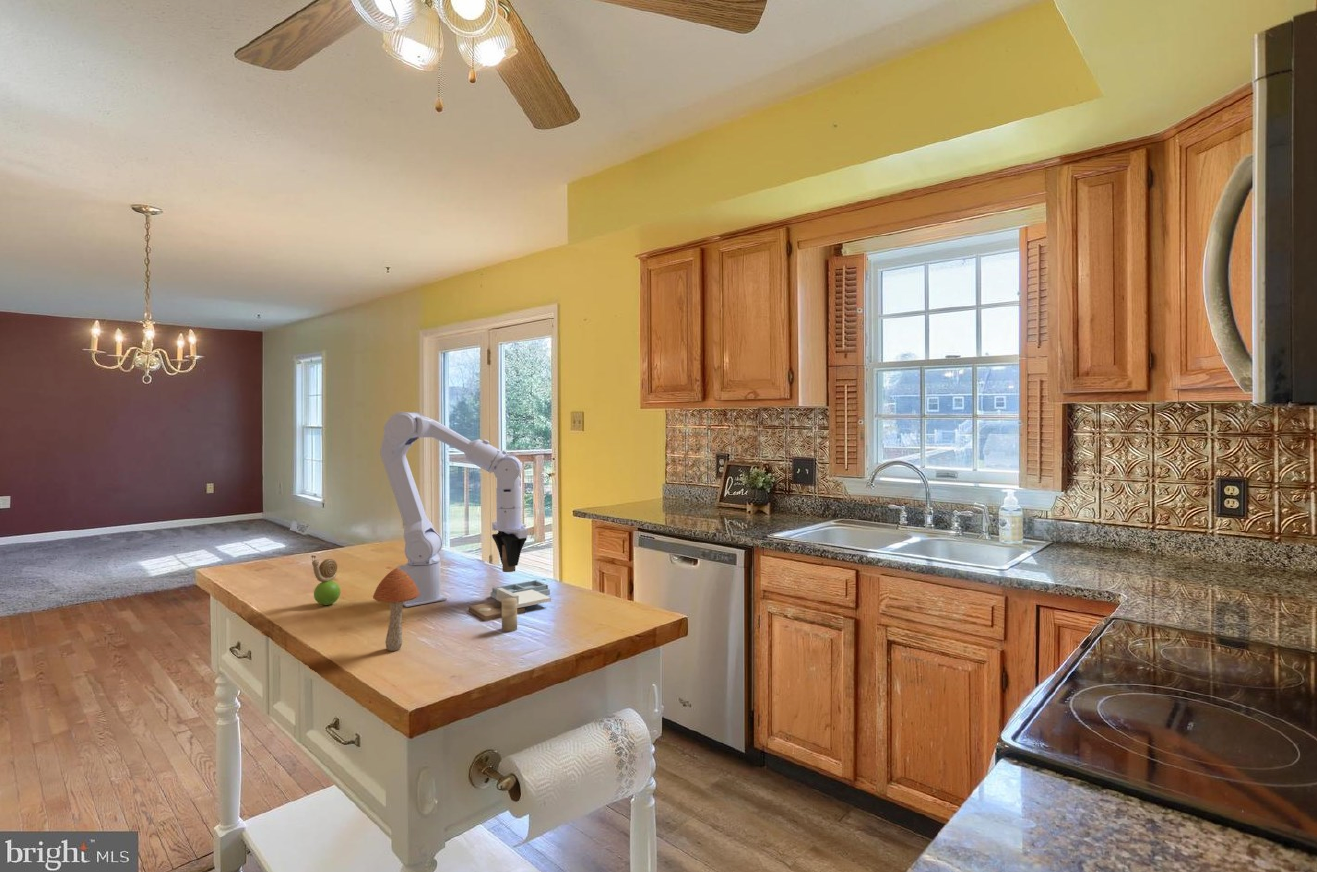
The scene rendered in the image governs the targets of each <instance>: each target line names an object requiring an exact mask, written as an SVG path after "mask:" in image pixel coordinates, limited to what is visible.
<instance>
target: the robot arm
mask: <svg viewBox="0 0 1317 872" xmlns="http://www.w3.org/2000/svg"><path fill="white" fill-rule="evenodd" d="M420 438H431V439H432V438H433V439H435V440H437V441H439V442H441V443H443V444H446V445H447V446H450V447H452V448H453V449H455V450H458V451H460V452H462V453H464V456H465V459H466V461H467V462H469V463H471V464H473V465H475V466H477V467H478V468H481V469H483V470H485V471H486V472H488V473H490V474H492V473H493V474H494V476H495V478H496V485H497V486H496V488H495V489H496V495H495V496H496V521H493V522H491V526H492V527H491V528H492V531H498V532H497V533H493V534H491V537H492V540H493V541H494V543H495V545H496V547H497V551H498V554H499V558H500V562H501V564H502V545H504V546H505V549H506V555H507V563H508V566H509V567H511V566H515V567H516V566H518V564H519V560H520V556H521V553H522V549H523V546H524V545H525V543H526V541H527V539H528V528H527V524H525V523H522V487H521V484H522V479H521V474H522V471H523V464H522V462H521V460H520V459H519V458H518V457H516V456H515V454H508V451H506V450H505V449H504V450H500V449H499V448H497V447H495V446H494V445H492V444H490V441H489V440H487V439H483V440H482V439H480V438H479V439H475V440H470V439H468V438H467V437H466V436H463V435H462V434H460V433H458V432H457V431H455V430H453V429H452V428H450V427H448V426H446V425H444V424H443V423H441V422H439V421H437V420H435V419H433V418H431V417H428V416H425V415H424V416H423V415H422V414H421V413H419V412H416V411H415V412H414V411H410V412H406V411H398V412H395V413H394V414H392V415H391V416H390V417H389V419H387V421H386V423H385V424H384V425H383V437H382V442H381V445H380V450H379V453H380V454H379V455H380V458H381V461H382V463H383V467H384V470H385V473H386V476H387V479H388V482H389V484H390V488H391V490H392V493H393V497H394V499H395V502H396V504H397V505H396V506H397V508H398V512H399V514H400V516H401V518H402V522H403V524H404V529H403V539H404V542H405V545H404V555H405V558H406V559H407V563H405V564H402V565H401V564H400V565H399V566H398V567H397V568H398V569H400V570H402V571H404V572H405V573H407V574H408V575H409V576H410V577H411V579H412V580H413V581H414V583H415V584H416V586H417V589H418V591H419V596H418V597H417V598H415V599H413V600H409V601H404V602H403V607H405V608H409V607H414V606H420V605H425V604H432V603H435V602H442V601H446V600H448V597H447V596H445V595H443V594H442V587H441V586H442V582H441V581H442V580H441V579H442V577H441V571H442V570H441V568H442V567H441V566H442V565H441V564H442V563H441V557H440V555H439V552H441V550H442V548H443V539H442V535H441V534H440V533H438V532H437V530H436V529H435V528H434V524H433V523H432V521H431V520H429V519H428V517H427V514H426V511H425V507H424V505H423V502H422V500H421V496H420V493H419V491H418V490H419V489H418V487H417V485H416V482H415V479H414V477H413V473H412V470H411V466H410V464H409V461H408V458H407V453H408V451H409V450H410V449H411V447H412V446H413V444H414V443H415V442H417V440H418V439H420ZM507 454H508V455H507ZM526 528H527V529H526Z"/></svg>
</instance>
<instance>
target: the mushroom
mask: <svg viewBox="0 0 1317 872" xmlns="http://www.w3.org/2000/svg"><path fill="white" fill-rule="evenodd" d="M418 596H419V591H418V589H417V586H416V584H415V583H414V581H413V580H412V579H411V577H410V576H409V575H408V574H407V573H405V572H404V571H402V570H400V569H398V567H395V568H394V569H393V570H390V572H388V573H387V574H386V575H385V576H384V577H383V579H382V580H381V581H380V582H379V583H378V586H377V587H376V589H375V591H374V594H373V595H372V598H373V600H374V601H376V602H380V603H385V604H386V603H388V604H389V603H390V612H389V613H390V614H389V624H388V628H387V632H386V637H385V648H386V650H387V651H390V652H391V651H392V652H394V651H395V652H396V651H399V650H401V648H402V645H403V626H402V618H403V611H404V610H403V608H404V605H403V602H404V601H409V600H413V599H415V598H417V597H418Z"/></svg>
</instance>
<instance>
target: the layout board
mask: <svg viewBox="0 0 1317 872" xmlns="http://www.w3.org/2000/svg"><path fill="white" fill-rule="evenodd" d="M468 612H470V613H471V614H473V615H475V616H477V617H479V618H480V619H482V620H483V621H484V622H488V621H491V620H492V621H493V620H495V619H496V620H497V619H502V602H500V601H498V600H495V601H491V602H483V603H479V604H475V605H470V606H468ZM525 613H526V607H521V608H517V615H520V614H525Z"/></svg>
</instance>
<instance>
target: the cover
mask: <svg viewBox="0 0 1317 872" xmlns="http://www.w3.org/2000/svg"><path fill="white" fill-rule="evenodd" d="M505 598H516V599H517V608H521V607H523V608H526V607H530V606H534V605H539V604H540V605H541V604H544V603H549V602H552V598H551V597H550V596H548V595H544V594H541V593H539V592H537V591H534V590H526V591H521V592H516V593H512V592H510V591H508V590H506V589H503V588H497V596H496V599H495V601H500V602H502V599H505Z"/></svg>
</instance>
